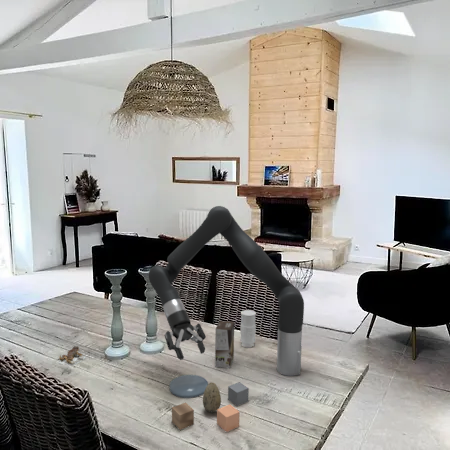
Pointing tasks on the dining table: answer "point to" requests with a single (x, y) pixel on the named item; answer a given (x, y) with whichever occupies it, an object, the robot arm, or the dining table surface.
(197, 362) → the dining table surface
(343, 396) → the dining table surface
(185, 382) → the round blue platter
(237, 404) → the charcoal block
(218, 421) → the terracotta block
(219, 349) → the coffee box
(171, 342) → the robot arm
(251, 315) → the candle
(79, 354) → the frog figurine
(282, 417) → the dining table surface
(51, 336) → the dining table surface
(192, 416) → the walnut block
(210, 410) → the decorative egg
